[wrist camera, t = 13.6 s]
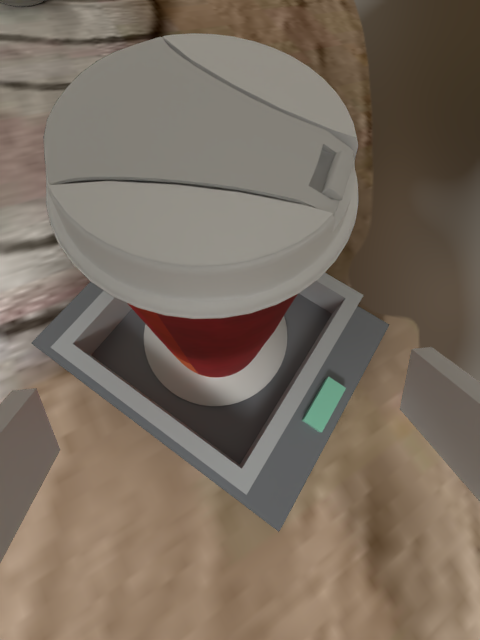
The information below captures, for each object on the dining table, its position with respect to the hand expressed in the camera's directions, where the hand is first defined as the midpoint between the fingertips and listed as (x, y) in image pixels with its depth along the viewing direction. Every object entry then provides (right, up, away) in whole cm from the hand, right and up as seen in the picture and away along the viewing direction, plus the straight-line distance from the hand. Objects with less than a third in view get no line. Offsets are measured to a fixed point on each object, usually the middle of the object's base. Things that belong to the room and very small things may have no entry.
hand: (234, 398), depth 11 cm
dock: (-1, +2, +10) cm, 10 cm away
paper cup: (-1, +2, +9) cm, 9 cm away
